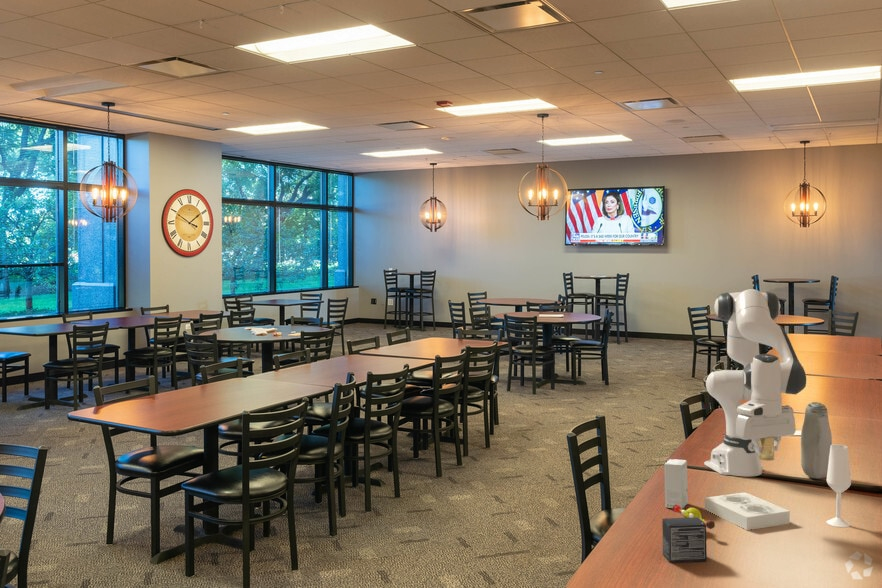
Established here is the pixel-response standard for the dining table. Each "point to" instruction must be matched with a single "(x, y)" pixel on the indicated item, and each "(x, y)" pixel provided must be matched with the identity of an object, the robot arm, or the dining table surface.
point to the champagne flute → (838, 479)
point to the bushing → (767, 448)
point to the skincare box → (676, 483)
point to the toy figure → (693, 515)
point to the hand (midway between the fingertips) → (766, 451)
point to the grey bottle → (815, 441)
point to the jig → (747, 511)
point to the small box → (684, 539)
